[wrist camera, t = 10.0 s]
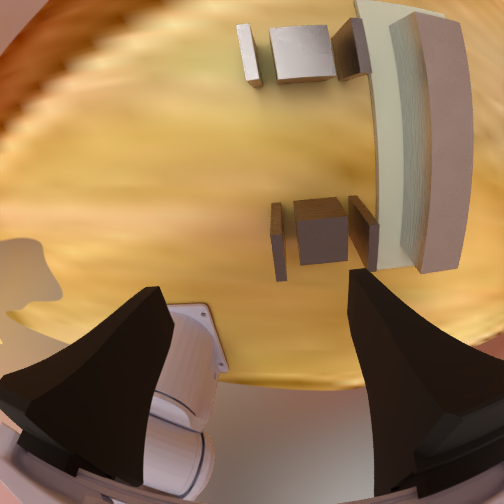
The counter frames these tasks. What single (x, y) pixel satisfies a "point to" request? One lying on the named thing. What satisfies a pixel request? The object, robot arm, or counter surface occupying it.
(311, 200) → the brown boxy piece
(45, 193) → the counter surface
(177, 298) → the counter surface
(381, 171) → the mat
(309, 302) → the counter surface
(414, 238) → the rail
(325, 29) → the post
